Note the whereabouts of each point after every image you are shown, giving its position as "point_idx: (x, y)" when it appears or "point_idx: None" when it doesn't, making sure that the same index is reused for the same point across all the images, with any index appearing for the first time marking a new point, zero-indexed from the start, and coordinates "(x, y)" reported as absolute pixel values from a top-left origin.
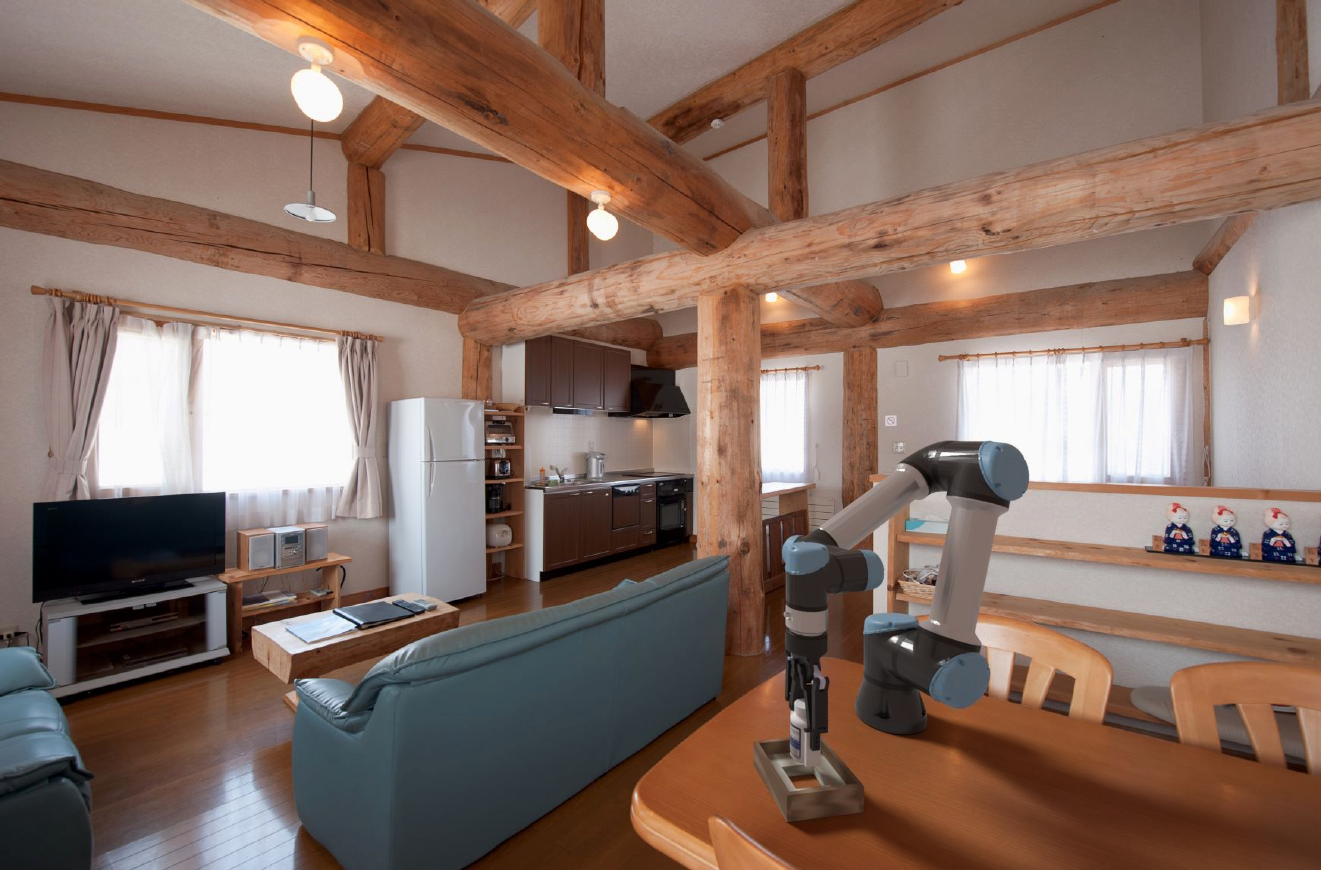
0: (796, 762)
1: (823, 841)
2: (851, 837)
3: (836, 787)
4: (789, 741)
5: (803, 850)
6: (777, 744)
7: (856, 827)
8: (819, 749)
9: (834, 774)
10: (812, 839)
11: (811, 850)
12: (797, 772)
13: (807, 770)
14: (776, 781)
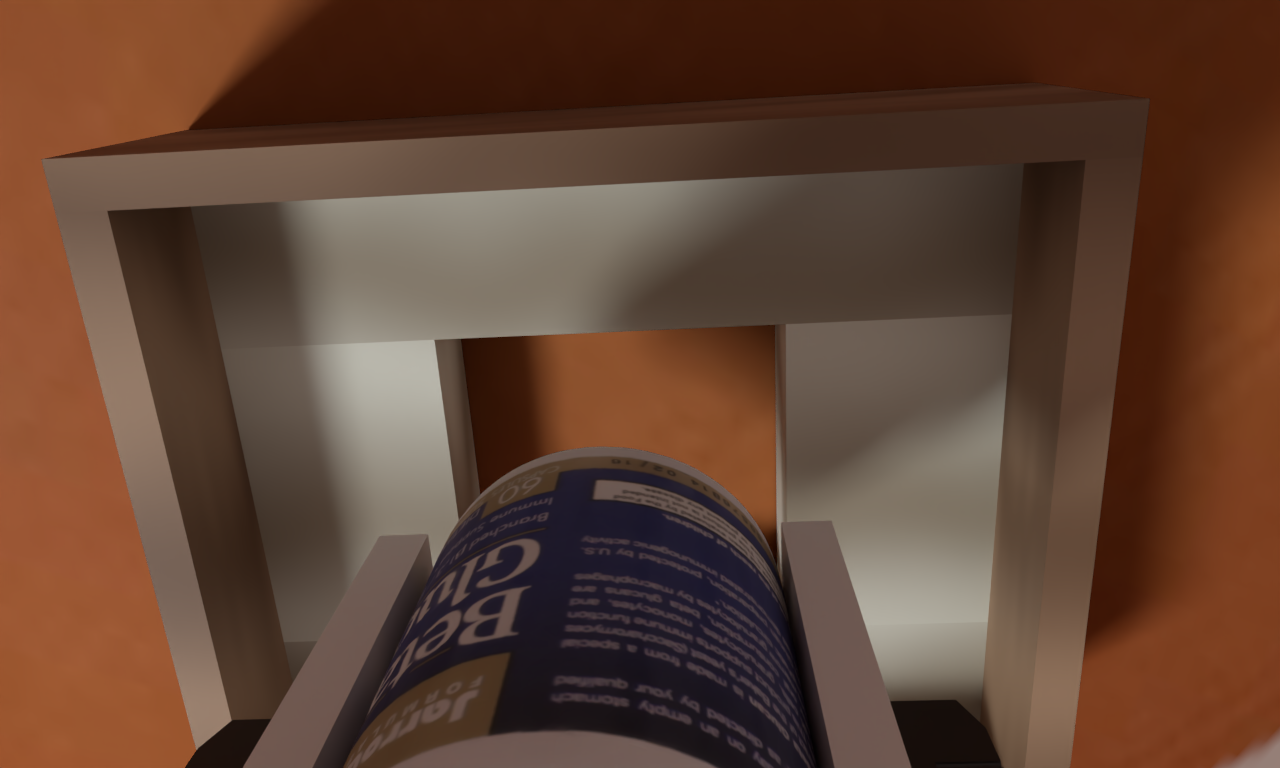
0: (415, 492)
1: (1230, 548)
2: (1266, 334)
3: (1083, 420)
4: (199, 555)
5: (1257, 698)
6: (238, 664)
7: (1182, 241)
8: (966, 717)
9: (632, 201)
10: (1187, 610)
11: (1276, 653)
12: (471, 467)
13: (456, 377)
14: None
